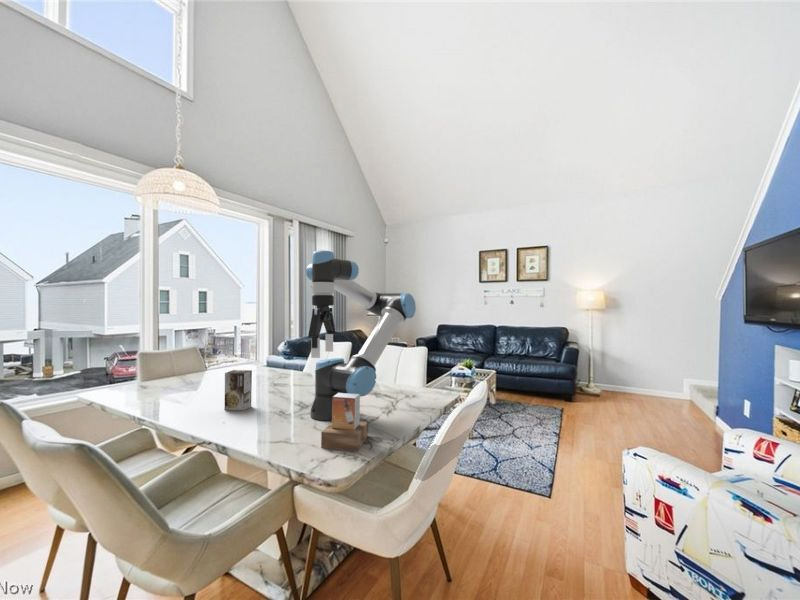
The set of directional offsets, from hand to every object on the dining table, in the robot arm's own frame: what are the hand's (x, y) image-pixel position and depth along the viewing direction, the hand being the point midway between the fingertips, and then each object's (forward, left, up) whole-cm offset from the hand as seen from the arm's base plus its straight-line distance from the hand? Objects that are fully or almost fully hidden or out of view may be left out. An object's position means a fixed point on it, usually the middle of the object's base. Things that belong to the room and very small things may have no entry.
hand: (322, 354), depth 115 cm
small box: (+4, +10, -23) cm, 26 cm away
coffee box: (-19, -48, -28) cm, 58 cm away
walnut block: (+4, +10, -28) cm, 30 cm away
